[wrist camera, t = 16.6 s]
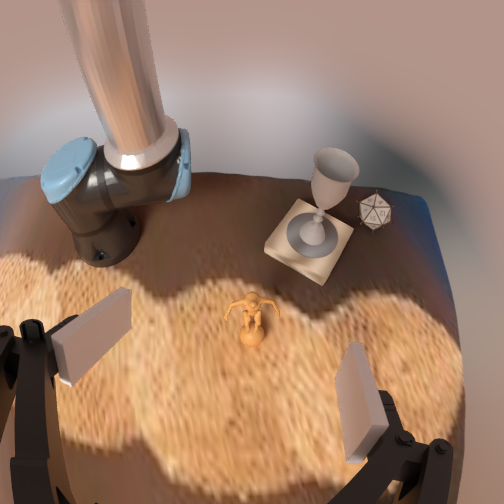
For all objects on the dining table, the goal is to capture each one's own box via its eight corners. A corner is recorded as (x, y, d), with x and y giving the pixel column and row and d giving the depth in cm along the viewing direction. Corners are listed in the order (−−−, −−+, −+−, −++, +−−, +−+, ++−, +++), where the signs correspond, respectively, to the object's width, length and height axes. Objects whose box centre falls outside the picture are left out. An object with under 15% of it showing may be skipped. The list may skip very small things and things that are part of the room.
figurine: (227, 349, 47) (223, 332, 37) (225, 316, 50) (221, 289, 40) (276, 346, 48) (287, 328, 37) (273, 313, 51) (282, 286, 40)
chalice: (294, 216, 56) (312, 144, 41) (328, 220, 56) (355, 151, 41) (294, 248, 53) (315, 178, 37) (330, 252, 53) (363, 185, 37)
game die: (358, 225, 66) (361, 183, 62) (392, 231, 62) (397, 188, 58) (350, 237, 59) (353, 189, 55) (389, 243, 55) (395, 195, 51)
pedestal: (264, 252, 57) (265, 241, 53) (295, 209, 63) (298, 197, 59) (322, 286, 54) (328, 276, 50) (348, 238, 59) (354, 227, 56)
